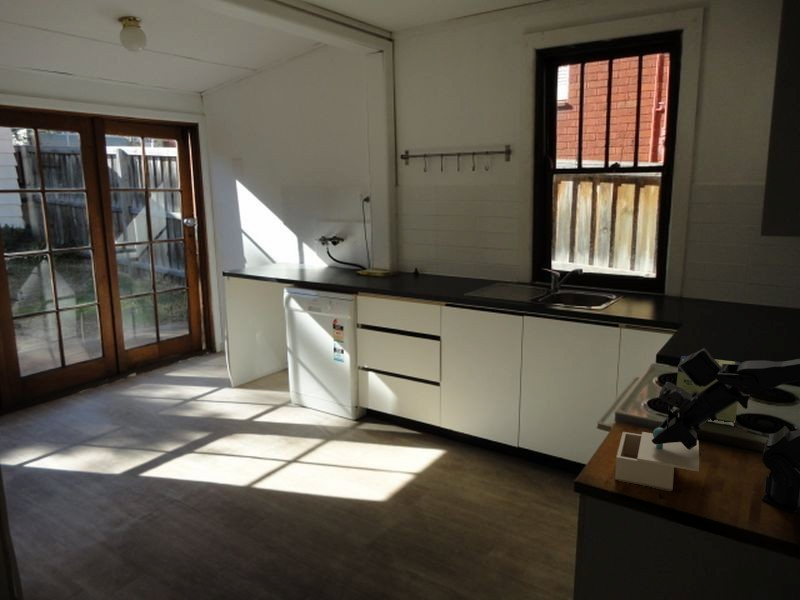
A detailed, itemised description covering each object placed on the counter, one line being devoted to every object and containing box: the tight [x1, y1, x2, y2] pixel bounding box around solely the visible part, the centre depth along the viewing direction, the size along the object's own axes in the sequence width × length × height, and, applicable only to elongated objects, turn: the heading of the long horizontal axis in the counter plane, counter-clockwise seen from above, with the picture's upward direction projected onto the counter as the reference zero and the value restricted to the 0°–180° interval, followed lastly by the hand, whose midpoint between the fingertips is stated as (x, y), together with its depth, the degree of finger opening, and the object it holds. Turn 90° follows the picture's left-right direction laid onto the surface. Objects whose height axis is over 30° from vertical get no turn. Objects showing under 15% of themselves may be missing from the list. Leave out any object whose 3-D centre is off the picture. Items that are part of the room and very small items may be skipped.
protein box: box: [676, 355, 741, 422], centre depth 165 cm, size 10×16×16 cm
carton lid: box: [637, 427, 700, 472], centre depth 134 cm, size 12×14×6 cm
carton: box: [614, 431, 675, 492], centre depth 138 cm, size 12×14×6 cm
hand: (653, 439), depth 136 cm, fingers closed on carton lid, 3 cm apart
